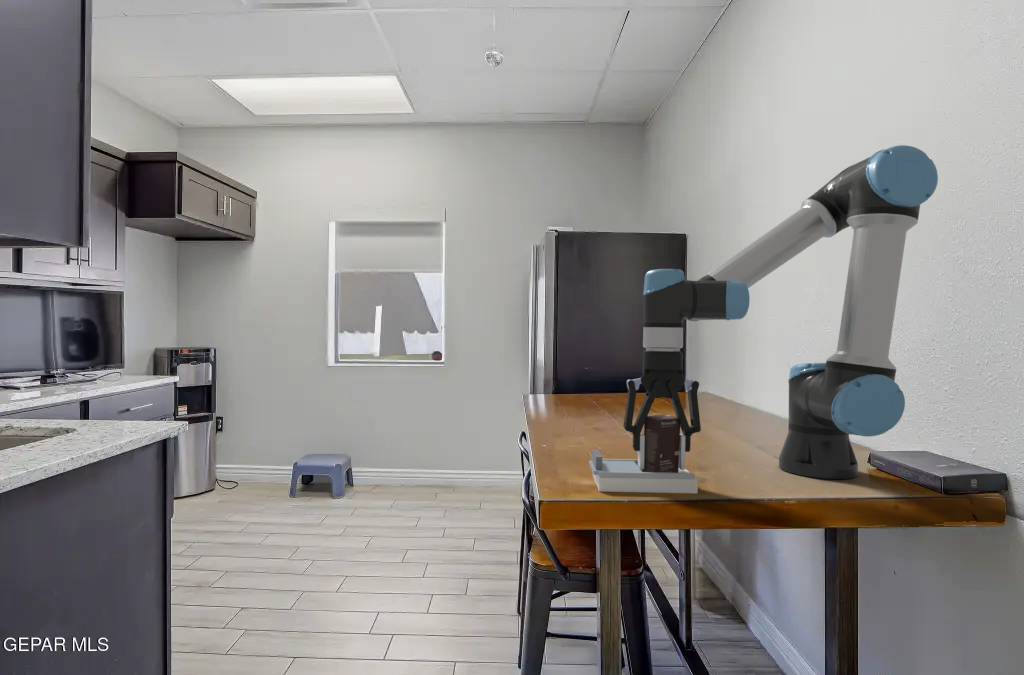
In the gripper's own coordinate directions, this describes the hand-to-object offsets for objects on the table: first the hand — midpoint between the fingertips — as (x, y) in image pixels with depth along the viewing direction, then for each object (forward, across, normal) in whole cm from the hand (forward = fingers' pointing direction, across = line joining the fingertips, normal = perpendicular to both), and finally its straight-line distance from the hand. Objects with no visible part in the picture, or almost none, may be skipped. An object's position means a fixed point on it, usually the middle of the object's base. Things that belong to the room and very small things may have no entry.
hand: (661, 467), depth 114 cm
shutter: (0, +9, 0) cm, 9 cm away
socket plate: (+3, +4, 0) cm, 5 cm away
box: (+2, 0, 0) cm, 2 cm away
